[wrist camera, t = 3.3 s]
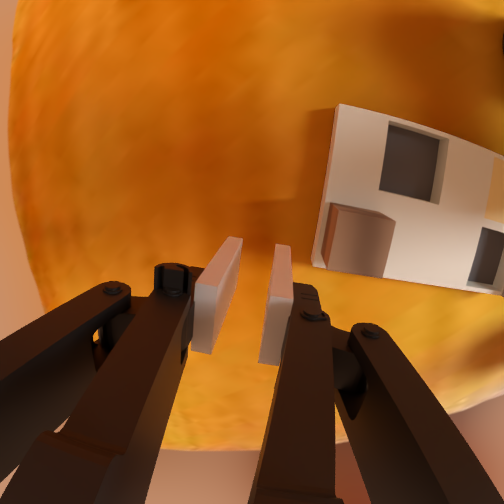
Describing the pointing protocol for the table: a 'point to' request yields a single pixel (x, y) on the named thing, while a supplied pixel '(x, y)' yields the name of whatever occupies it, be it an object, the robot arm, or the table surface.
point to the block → (357, 240)
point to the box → (420, 198)
